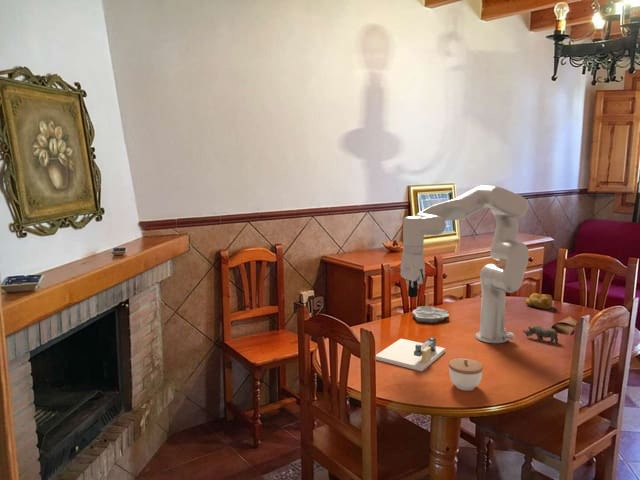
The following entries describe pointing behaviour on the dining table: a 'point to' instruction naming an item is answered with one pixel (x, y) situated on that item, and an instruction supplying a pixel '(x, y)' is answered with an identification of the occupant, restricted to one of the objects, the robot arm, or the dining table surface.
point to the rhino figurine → (542, 333)
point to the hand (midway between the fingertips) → (412, 296)
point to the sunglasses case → (565, 326)
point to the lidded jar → (465, 373)
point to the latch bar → (430, 343)
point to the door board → (409, 355)
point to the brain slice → (429, 314)
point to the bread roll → (540, 301)
